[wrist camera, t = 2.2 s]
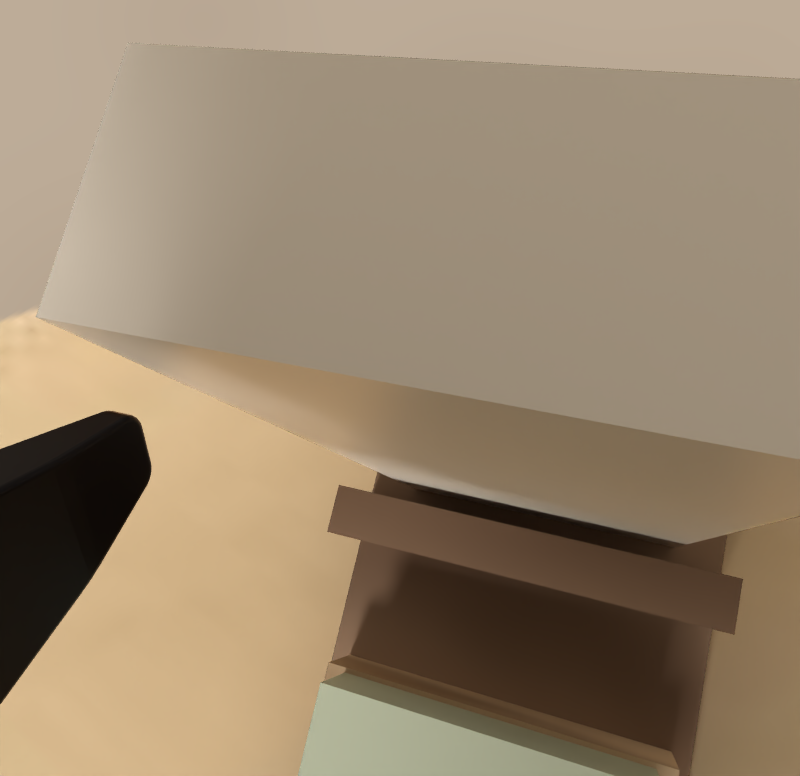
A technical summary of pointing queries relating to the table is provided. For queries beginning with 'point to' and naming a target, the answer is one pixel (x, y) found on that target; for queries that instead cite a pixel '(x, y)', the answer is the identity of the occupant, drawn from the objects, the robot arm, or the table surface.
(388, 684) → the offcut lower
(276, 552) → the table surface
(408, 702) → the offcut upper
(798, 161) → the white rectangular block
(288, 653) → the table surface
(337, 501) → the rack
